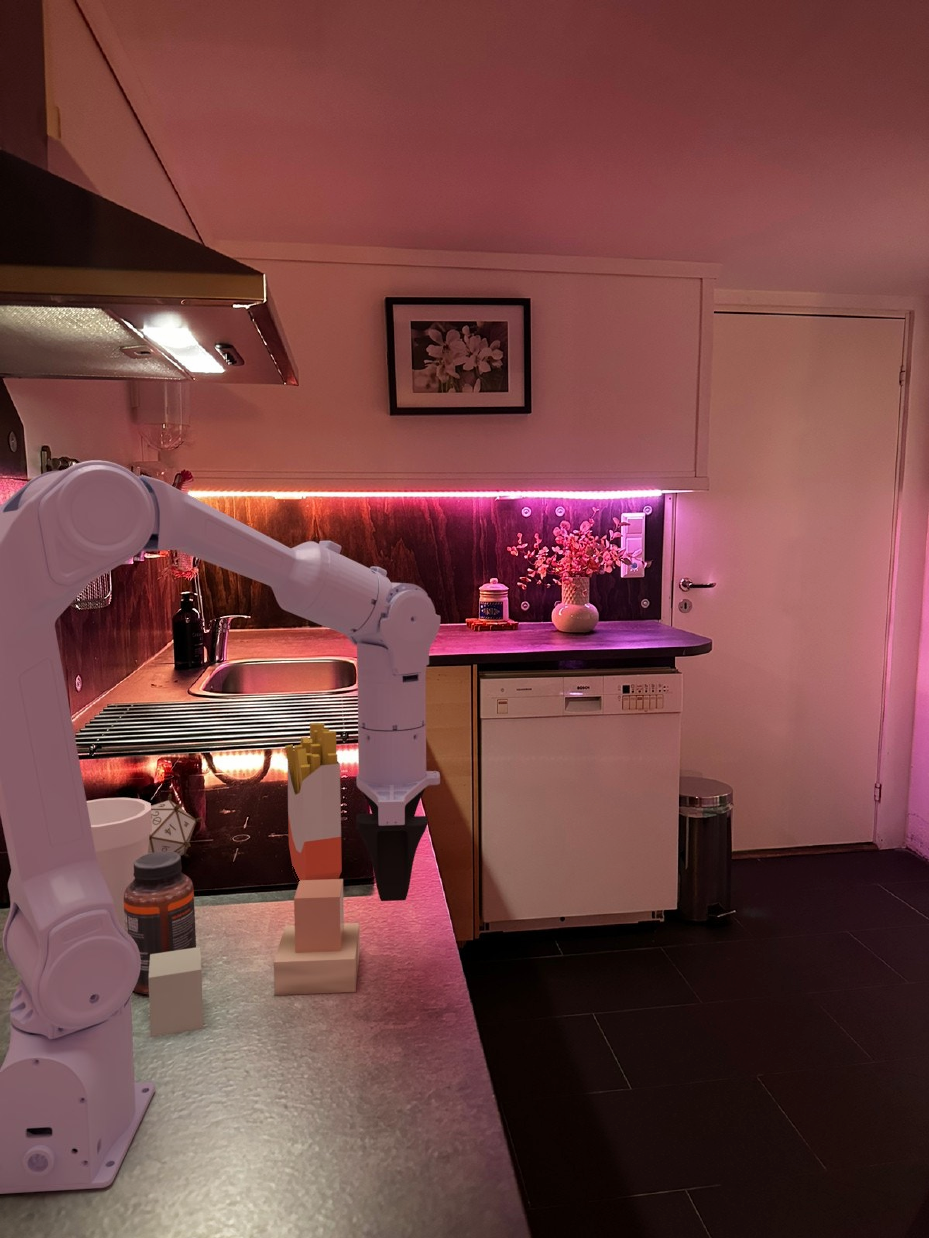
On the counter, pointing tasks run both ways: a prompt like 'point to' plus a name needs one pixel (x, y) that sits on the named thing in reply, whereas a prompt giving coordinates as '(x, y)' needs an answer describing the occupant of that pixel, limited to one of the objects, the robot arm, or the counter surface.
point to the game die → (170, 828)
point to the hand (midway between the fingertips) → (393, 880)
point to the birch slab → (317, 965)
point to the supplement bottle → (159, 909)
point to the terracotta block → (319, 915)
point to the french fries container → (314, 805)
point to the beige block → (175, 991)
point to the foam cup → (119, 841)
